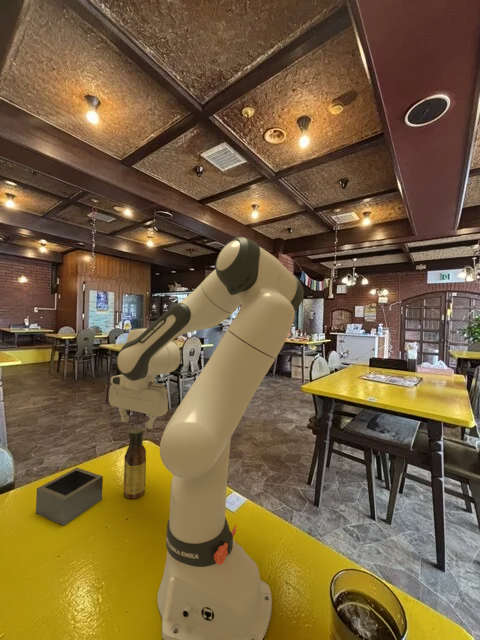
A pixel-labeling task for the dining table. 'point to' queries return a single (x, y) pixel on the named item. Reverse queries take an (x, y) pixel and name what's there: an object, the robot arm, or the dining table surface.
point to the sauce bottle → (135, 465)
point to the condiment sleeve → (69, 495)
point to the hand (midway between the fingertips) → (136, 424)
